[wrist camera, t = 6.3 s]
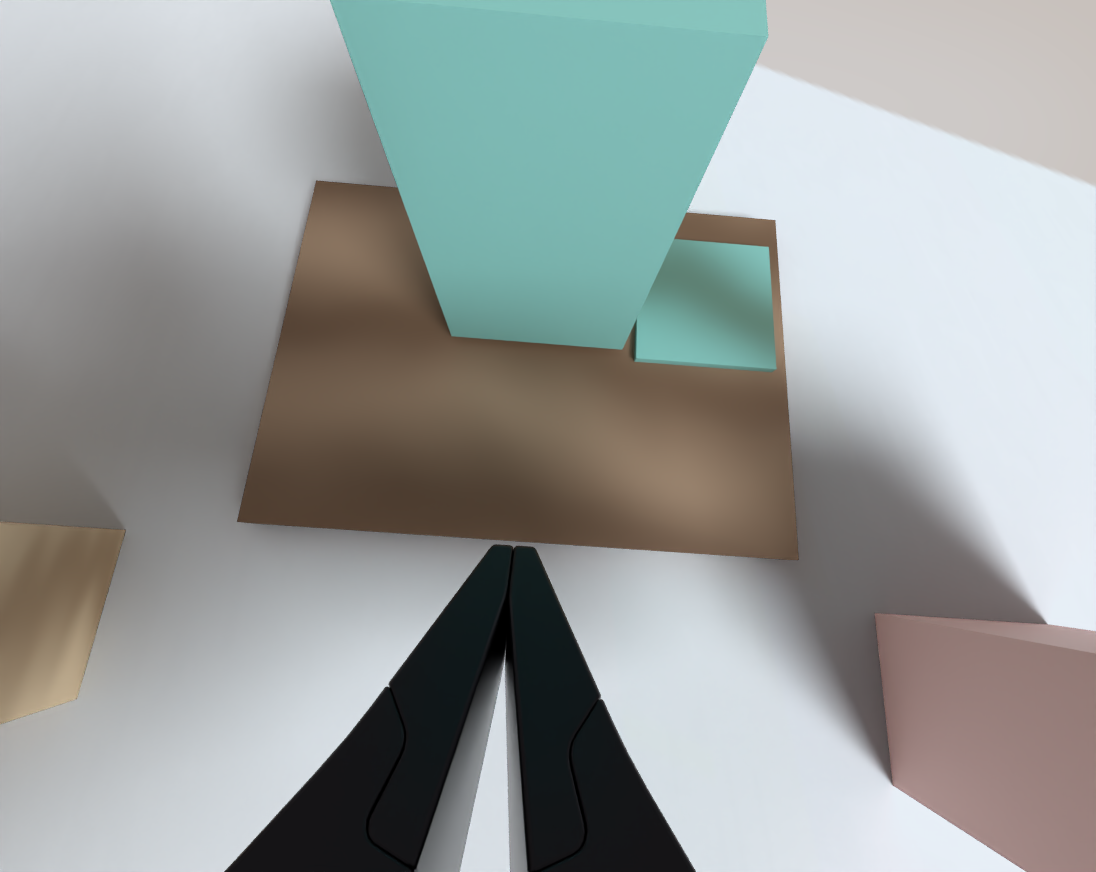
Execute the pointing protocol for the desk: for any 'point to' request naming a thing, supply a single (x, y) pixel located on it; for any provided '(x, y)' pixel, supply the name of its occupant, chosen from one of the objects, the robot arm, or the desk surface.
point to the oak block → (49, 610)
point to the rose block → (996, 732)
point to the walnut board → (528, 402)
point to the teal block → (549, 146)
